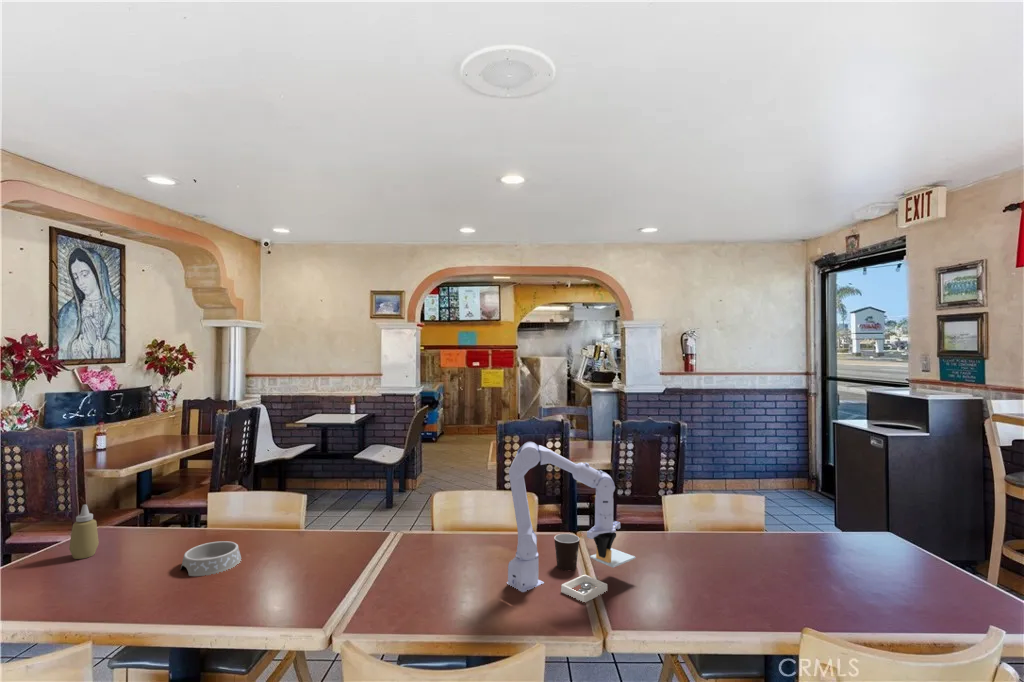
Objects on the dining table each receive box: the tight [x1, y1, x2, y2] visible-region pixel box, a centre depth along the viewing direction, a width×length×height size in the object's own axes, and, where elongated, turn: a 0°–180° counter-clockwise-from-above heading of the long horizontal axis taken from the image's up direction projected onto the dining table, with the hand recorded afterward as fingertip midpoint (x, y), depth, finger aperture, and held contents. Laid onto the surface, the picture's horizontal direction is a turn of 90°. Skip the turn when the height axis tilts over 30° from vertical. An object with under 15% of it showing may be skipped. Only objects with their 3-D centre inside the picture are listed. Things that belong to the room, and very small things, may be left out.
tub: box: [560, 574, 608, 603], centre depth 159 cm, size 11×9×3 cm
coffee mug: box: [553, 533, 581, 572], centre depth 178 cm, size 12×9×10 cm
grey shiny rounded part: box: [581, 582, 591, 590], centre depth 162 cm, size 3×3×1 cm
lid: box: [589, 545, 636, 568], centre depth 167 cm, size 11×9×5 cm
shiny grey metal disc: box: [578, 589, 588, 594], centre depth 157 cm, size 3×3×1 cm
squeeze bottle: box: [68, 504, 100, 560], centre depth 183 cm, size 8×8×18 cm
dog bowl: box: [179, 540, 242, 577], centre depth 177 cm, size 17×18×5 cm
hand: (603, 556), depth 164 cm, fingers closed on lid
